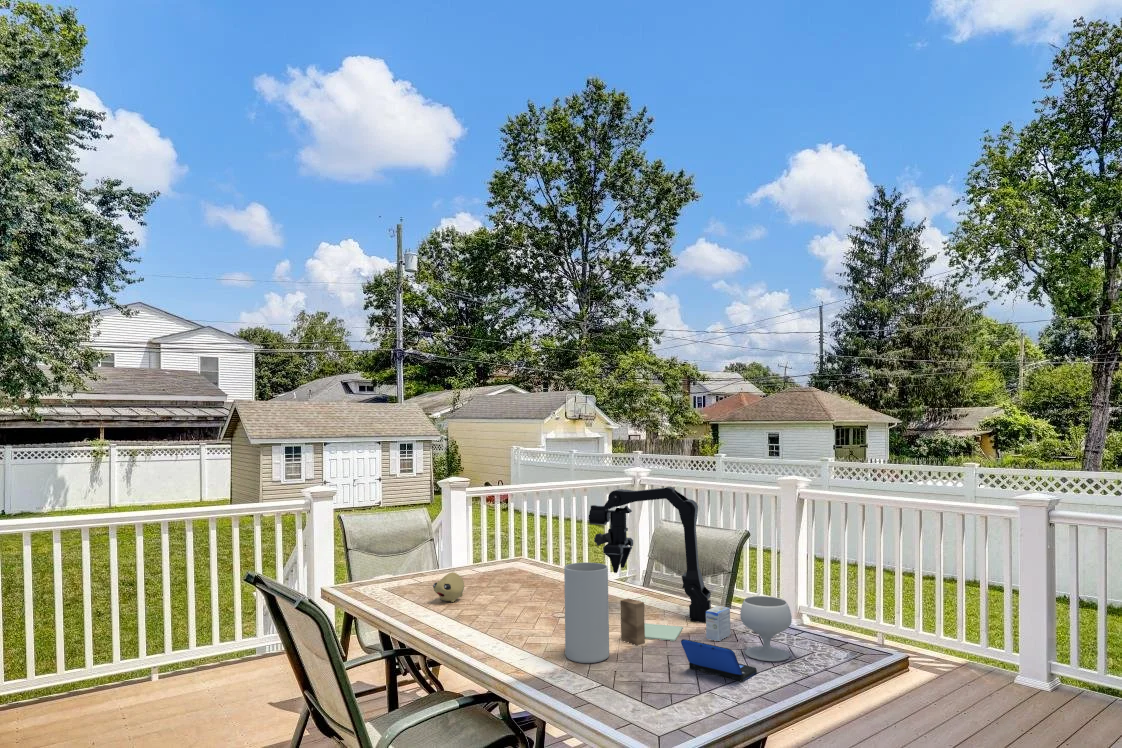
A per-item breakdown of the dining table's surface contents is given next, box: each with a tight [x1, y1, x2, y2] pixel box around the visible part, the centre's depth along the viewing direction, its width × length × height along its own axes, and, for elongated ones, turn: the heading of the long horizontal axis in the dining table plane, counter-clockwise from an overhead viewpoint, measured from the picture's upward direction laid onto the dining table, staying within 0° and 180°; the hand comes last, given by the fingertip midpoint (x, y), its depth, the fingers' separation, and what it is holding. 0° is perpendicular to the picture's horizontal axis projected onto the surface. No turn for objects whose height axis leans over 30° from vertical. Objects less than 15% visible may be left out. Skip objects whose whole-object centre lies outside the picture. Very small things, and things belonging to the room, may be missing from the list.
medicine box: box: [705, 605, 731, 642], centre depth 205 cm, size 8×4×9 cm, turn 141°
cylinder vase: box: [563, 561, 610, 664], centre depth 190 cm, size 12×12×25 cm
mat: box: [645, 622, 684, 642], centre depth 211 cm, size 16×14×1 cm
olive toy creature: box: [432, 571, 465, 603], centre depth 253 cm, size 10×12×11 cm
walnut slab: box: [620, 598, 646, 646], centre depth 202 cm, size 6×4×12 cm, turn 42°
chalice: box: [739, 595, 793, 662], centre depth 189 cm, size 14×14×15 cm
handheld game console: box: [680, 638, 758, 683], centre depth 176 cm, size 16×13×9 cm
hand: (619, 570), depth 236 cm, fingers open, 9 cm apart
